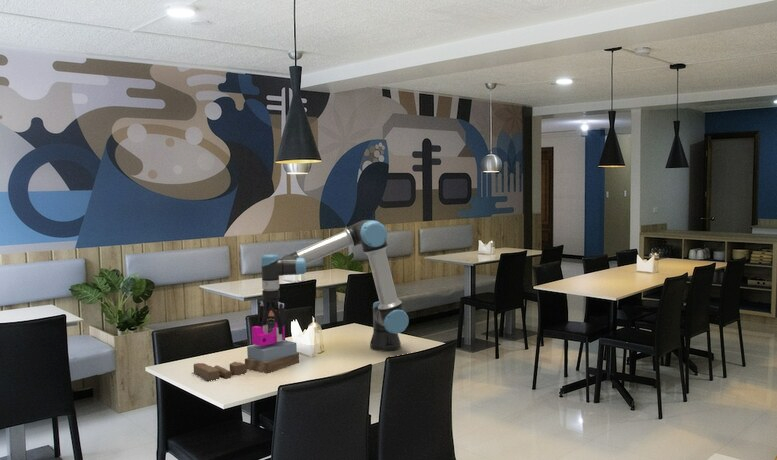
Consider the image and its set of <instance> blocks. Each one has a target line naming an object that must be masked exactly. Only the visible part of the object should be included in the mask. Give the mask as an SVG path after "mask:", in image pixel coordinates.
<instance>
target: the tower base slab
mask: <svg viewBox="0 0 777 460" xmlns="http://www.w3.org/2000/svg"><path fill="white" fill-rule="evenodd" d="M299 363H300V352H297V354H294V355H290V356H286V357H282V358H278V359H275V360H271V361H267V362H261V361H258V360H254V359H251V358H248V357H247V358H245V359H244V364H246V370H247V369H249V371H252V370H253V372H257V371H258V372H259V373H263V372H264V373H263V374H268V373H269V374H272V373H275V372H278V371H281V370H283V369H286V368H288V367H291V366H294V365H296V364H299ZM274 371H275V372H274ZM271 372H272V373H271Z"/></svg>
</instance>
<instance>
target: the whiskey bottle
mask: <svg viewBox="0 0 777 460" xmlns="http://www.w3.org/2000/svg"><path fill="white" fill-rule="evenodd" d="M278 307H279V306H278ZM275 323H276V319H275V316H274V313H273V312H272V311H271V310H270V312H269V315H268V319H267V324H266V325H268V333H270V332H271V331H272V330H273V329H274V327H275ZM284 329H285V330H286V325H285V326H284ZM282 340H286V338H285V339H282Z"/></svg>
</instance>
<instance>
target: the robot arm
mask: <svg viewBox="0 0 777 460" xmlns="http://www.w3.org/2000/svg"><path fill="white" fill-rule="evenodd" d="M387 238H388V231H387V228H386V227H385V225H383V223H381V222H379V221H378V220H373V219H363V220H360V221H358V222H356V223H354V224H352V225H350V226H347V227H345V228H344V231H341V232H339V233H337V234H335V235H332V236H330V237H328V238H325V239H323V240H320V241H318V242H315V243H313V244H310V245H308V246H306V247H304V248H301V249H299V250H296V251H294V252H291V253H289V254H284V255H282V256H281V257H280V258H279V254H271V253H270V254H264V255H262V256H261V265H260V266H261V284H262V286H261V287H262V289H263V290H262V291H261V292H262V294H261V295H262V299H263V300H261V301H258V302H257V306H258V310H257V324H260V325H261V326H260V327H262V329H263V332H264V333H266V334H268V325H266V324H267V319H268V315H269V312H270V310H271V311H272V312H273V313H274V316H275V319H276V322H277V325H278V326H277V327H276V331H277V342H280V341H282V334H283V326H285V327H286V326H287V316H286V303H285V302H280V297H281V294H280V276H295V275H297V276H300V275H304V274H305V273H306V271H307V265H308V264H311V263H313V262H315V261H318V260H320V259H323V258H324V257H327V256H329V255H332V254H334V253H336V252H339V251H342V250H343V249H346V248H349V247H351V248H353V247H356V246H360V245H361V248H362V252H363V253H364V254H366V255H367V258H368V261H369V265H370V266H369V267H370V269H371V273H372V274H371V275H372V277H373V281H374V285H375V289H376V294H377V297H378V301H375V302H373V304H372V324H373V325H372V326H373V327H372V328H373V329H372V330H373V333H372V335H371V339H370V342H369V344H370V345H369V347H370V349H371V350H373V351H378V350H392V351H396V350H395V349H397V350H399V349H401V348H400V347H402V344H401V339H400V336H399V334H401V333H402V332H404V331H405V330H406V329H407V327H408V326H409V324H410V323H409V321H410V319H409V316H408V314H407V312H406V311H405V310H404V306H403V305H404V304H403V302H402V300H400V299H399V298H398V295H397V291H396V287H395V283H394V280H393V276H392V275H393V274H392V271H391V268H390V264H389V260H388V255H387V251H386V250H387V248H388V241H387ZM278 306H279V307H278ZM398 348H399V349H398Z"/></svg>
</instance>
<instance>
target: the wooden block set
mask: <svg viewBox="0 0 777 460" xmlns="http://www.w3.org/2000/svg"><path fill="white" fill-rule="evenodd" d="M247 372H248V371H247V369H246V364H245V362H244V363H243V362H239V361H238V362H237V361H233V362H230V363H229V370H228V369H226V368H224V367H222V366H221V365H214V366H211V365H209V364H206V363H203V362H197V363H193V373H194V374H195V373H196V375H197V376H200V378H201V377H202V379H203V378H204V380H205V379H206V380H205V381H207V380H208V382H209V381H210V382H212V381H211V380H215V381H217V380H216V379H219V380H220V376H221V377H223V378H225V379H230V378H232V376H233V375H238V376H242V375H241V374H243V375H246V374H245V373H247ZM229 377H230V378H229Z"/></svg>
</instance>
